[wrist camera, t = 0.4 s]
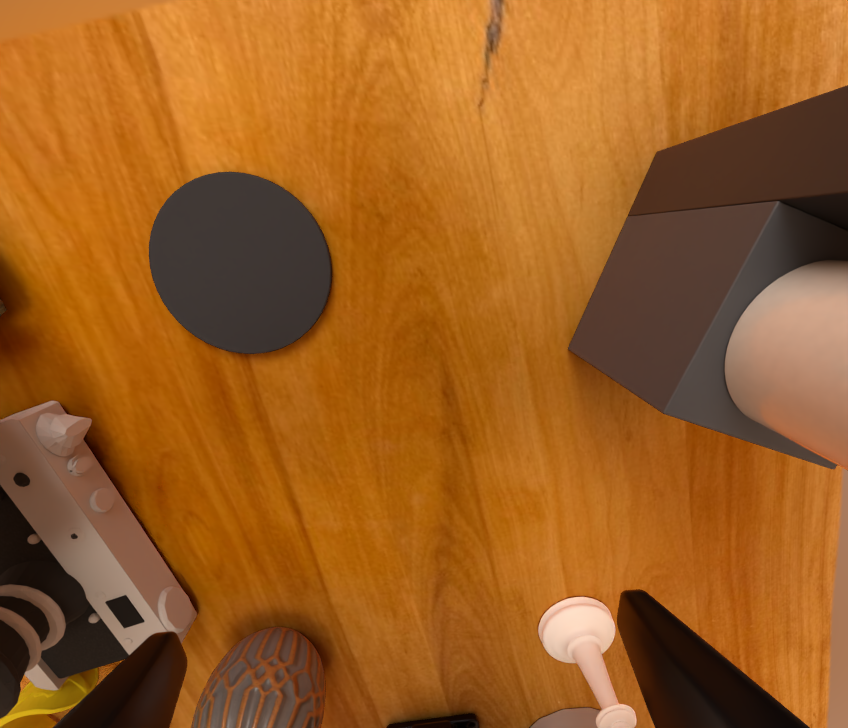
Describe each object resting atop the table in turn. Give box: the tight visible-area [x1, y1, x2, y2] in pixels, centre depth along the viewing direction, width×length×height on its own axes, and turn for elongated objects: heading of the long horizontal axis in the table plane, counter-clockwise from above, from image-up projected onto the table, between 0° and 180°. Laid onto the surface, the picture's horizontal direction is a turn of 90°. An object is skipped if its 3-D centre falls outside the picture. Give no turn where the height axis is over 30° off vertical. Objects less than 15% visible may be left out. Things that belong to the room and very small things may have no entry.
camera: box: [0, 401, 197, 718], centre depth 20 cm, size 15×7×10 cm
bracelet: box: [0, 668, 99, 728], centre depth 26 cm, size 7×8×3 cm
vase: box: [191, 627, 326, 728], centre depth 23 cm, size 7×7×9 cm
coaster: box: [149, 172, 332, 354], centre depth 20 cm, size 8×8×1 cm
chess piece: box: [538, 597, 637, 728], centre depth 23 cm, size 5×5×10 cm
